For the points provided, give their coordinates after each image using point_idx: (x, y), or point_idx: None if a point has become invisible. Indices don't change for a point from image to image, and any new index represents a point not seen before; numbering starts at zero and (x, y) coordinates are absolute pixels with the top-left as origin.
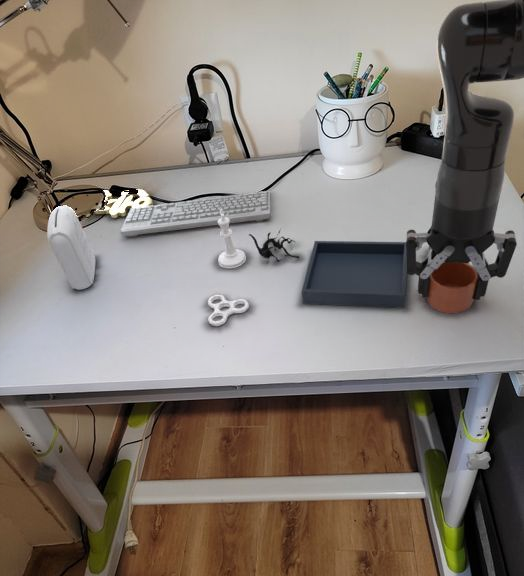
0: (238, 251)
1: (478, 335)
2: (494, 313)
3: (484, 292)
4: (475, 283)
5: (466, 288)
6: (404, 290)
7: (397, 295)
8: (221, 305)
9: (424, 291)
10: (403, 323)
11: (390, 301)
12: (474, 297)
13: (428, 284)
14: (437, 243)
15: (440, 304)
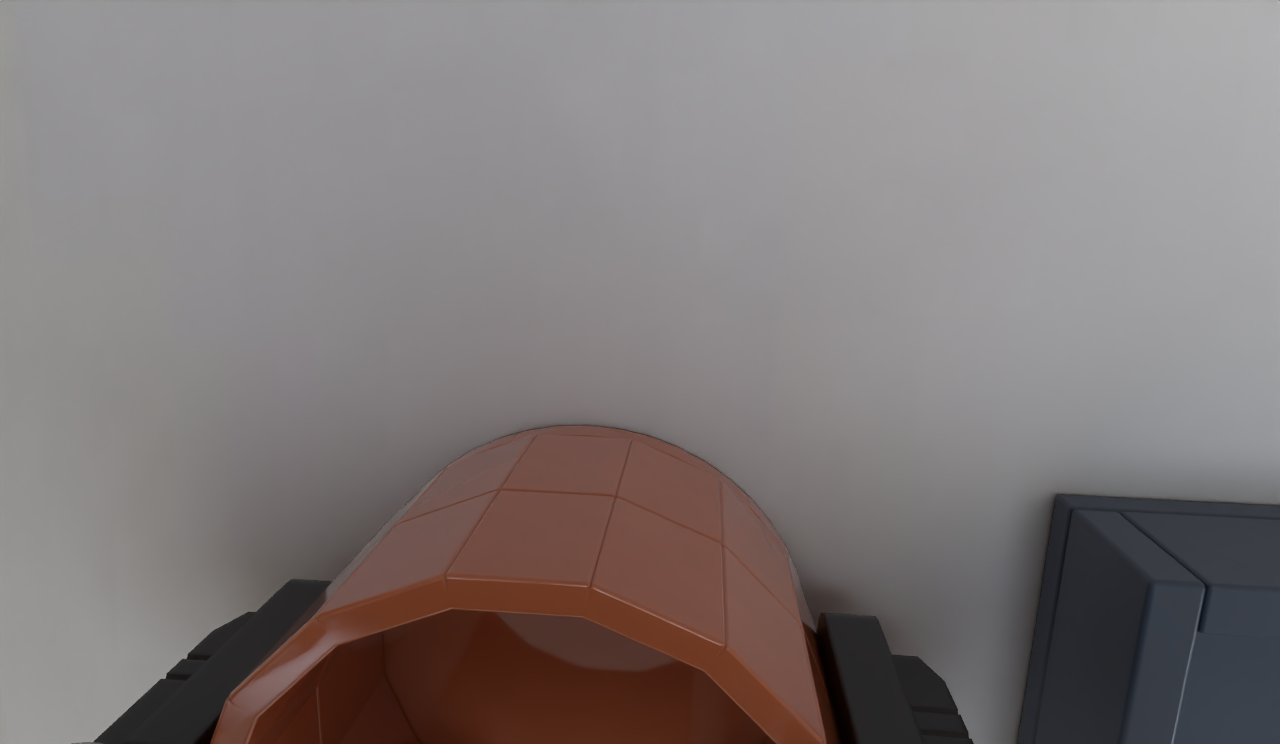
0: None
1: (320, 104)
2: (185, 433)
3: (216, 642)
4: (229, 703)
5: (344, 601)
6: (1148, 671)
7: (1253, 583)
8: None
9: (876, 664)
10: (1088, 253)
11: (1269, 540)
12: None
13: (860, 735)
14: None
15: (689, 488)
